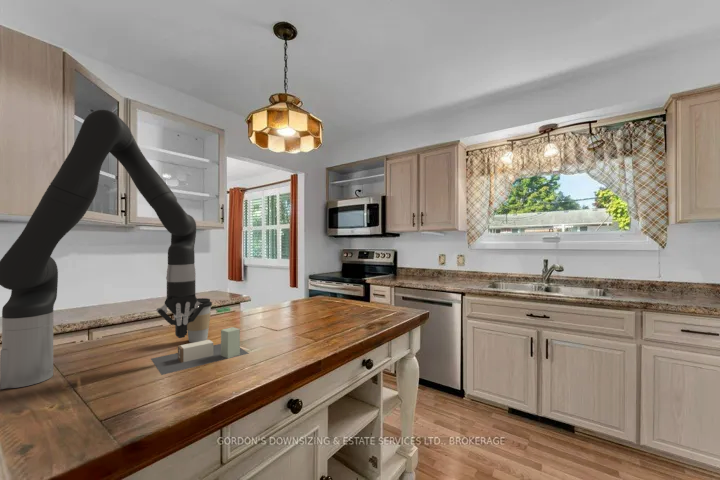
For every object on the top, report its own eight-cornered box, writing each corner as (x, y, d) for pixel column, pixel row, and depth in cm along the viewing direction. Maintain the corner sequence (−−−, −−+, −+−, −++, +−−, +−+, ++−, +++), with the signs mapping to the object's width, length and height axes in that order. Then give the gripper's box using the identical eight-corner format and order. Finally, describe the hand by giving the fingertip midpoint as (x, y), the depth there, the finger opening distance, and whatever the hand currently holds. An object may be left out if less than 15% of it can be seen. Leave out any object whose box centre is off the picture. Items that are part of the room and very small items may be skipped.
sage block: (227, 358, 96) (227, 332, 96) (221, 355, 99) (221, 329, 99) (239, 354, 99) (239, 329, 99) (232, 352, 102) (232, 327, 102)
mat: (161, 377, 84) (161, 374, 84) (150, 360, 96) (150, 358, 96) (249, 355, 100) (249, 353, 101) (230, 343, 112) (230, 341, 112)
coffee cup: (217, 338, 118) (217, 298, 119) (202, 346, 109) (202, 302, 109) (193, 337, 119) (193, 297, 120) (176, 345, 110) (176, 302, 110)
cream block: (181, 349, 93) (213, 342, 99) (177, 345, 96) (209, 339, 102) (181, 362, 93) (213, 355, 99) (177, 359, 96) (209, 352, 102)
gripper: (158, 282, 87) (158, 345, 87) (208, 278, 96) (208, 335, 96) (152, 280, 93) (152, 339, 93) (201, 276, 102) (201, 330, 102)
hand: (181, 337), depth 95 cm, fingers closed
